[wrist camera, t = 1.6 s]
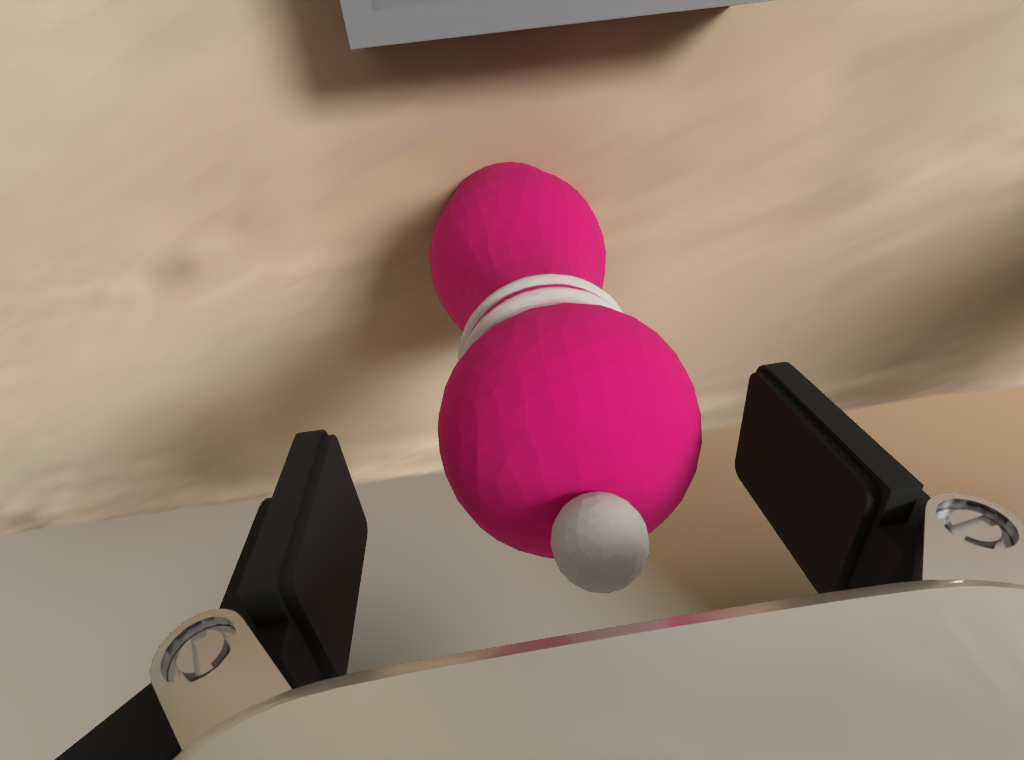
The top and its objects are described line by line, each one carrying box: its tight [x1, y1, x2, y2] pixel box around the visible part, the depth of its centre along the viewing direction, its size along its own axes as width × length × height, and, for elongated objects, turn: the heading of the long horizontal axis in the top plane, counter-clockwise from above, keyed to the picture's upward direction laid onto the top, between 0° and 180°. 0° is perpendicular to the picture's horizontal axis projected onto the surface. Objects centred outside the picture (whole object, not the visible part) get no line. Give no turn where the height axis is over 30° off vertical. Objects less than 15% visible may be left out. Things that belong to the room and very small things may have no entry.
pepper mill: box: [430, 162, 702, 593], centre depth 17 cm, size 7×7×20 cm
